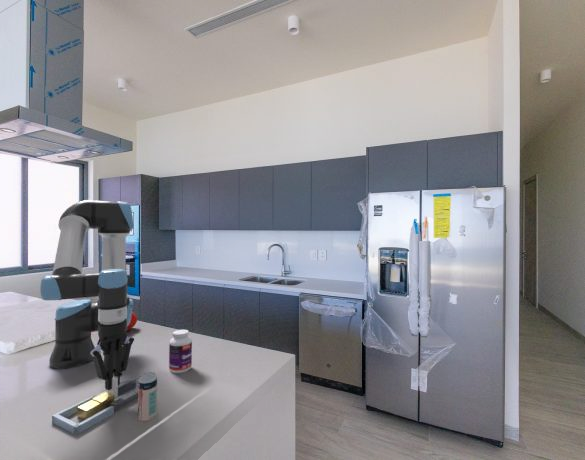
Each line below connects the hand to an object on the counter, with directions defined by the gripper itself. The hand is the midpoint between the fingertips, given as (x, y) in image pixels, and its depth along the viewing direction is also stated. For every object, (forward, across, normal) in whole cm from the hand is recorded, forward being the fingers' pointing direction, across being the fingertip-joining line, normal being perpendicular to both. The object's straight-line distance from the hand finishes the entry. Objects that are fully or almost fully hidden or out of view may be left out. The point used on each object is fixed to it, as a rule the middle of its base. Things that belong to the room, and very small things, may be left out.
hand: (112, 398), depth 91 cm
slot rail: (+2, +4, 0) cm, 4 cm away
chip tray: (+2, -8, 0) cm, 8 cm away
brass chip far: (+1, -3, 0) cm, 3 cm away
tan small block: (+2, -7, 0) cm, 7 cm away
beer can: (+2, 0, -15) cm, 15 cm away
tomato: (+2, +43, +58) cm, 72 cm away
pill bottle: (+2, +26, -2) cm, 26 cm away
